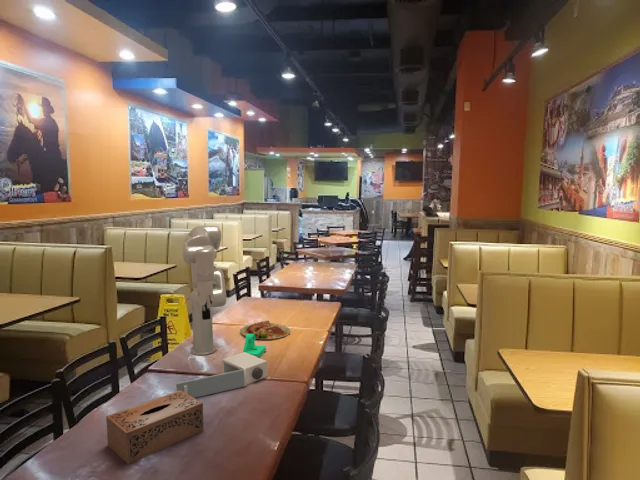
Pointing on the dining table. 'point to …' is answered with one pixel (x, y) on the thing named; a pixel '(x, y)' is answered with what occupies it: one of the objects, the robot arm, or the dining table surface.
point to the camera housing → (246, 366)
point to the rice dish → (265, 330)
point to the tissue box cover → (154, 425)
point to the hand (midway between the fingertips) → (206, 318)
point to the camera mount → (253, 346)
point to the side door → (213, 383)
